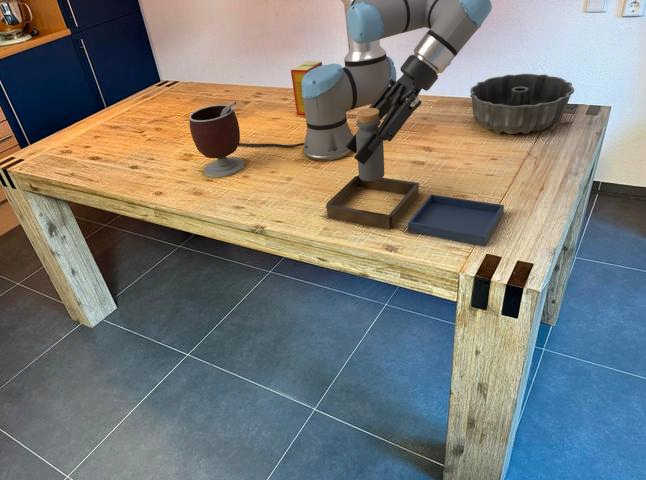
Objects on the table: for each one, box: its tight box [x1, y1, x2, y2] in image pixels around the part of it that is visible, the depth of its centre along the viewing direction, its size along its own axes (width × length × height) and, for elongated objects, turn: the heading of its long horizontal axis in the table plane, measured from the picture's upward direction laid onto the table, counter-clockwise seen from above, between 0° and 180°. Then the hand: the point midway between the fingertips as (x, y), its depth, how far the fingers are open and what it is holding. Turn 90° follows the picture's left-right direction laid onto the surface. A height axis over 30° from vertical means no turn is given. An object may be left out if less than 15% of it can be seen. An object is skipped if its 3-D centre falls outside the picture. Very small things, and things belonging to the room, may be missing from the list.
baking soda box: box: [290, 61, 323, 117], centre depth 177 cm, size 10×6×16 cm
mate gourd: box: [188, 101, 245, 178], centre depth 147 cm, size 16×14×20 cm
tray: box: [407, 193, 505, 247], centre depth 109 cm, size 16×13×2 cm
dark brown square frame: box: [325, 174, 420, 230], centre depth 120 cm, size 17×17×3 cm
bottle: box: [355, 107, 385, 181], centre depth 112 cm, size 6×6×15 cm
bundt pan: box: [469, 73, 575, 135], centre depth 143 cm, size 26×26×10 cm
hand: (354, 155), depth 113 cm, fingers closed on bottle, 6 cm apart
